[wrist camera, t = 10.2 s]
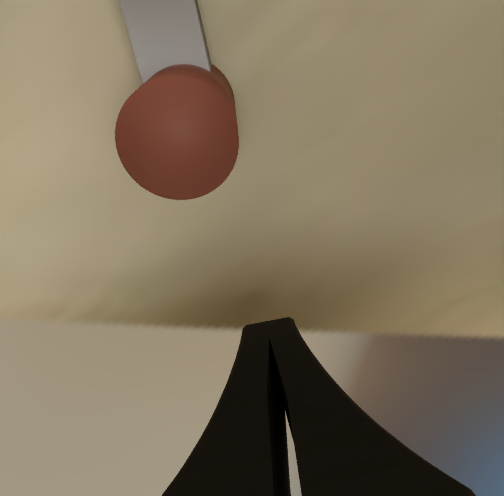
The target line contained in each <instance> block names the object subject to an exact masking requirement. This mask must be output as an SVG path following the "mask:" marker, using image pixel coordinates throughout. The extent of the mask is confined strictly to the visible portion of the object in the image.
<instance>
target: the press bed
mask: <svg viewBox="0 0 504 496" xmlns="http://www.w3.org/2000/svg"><path fill="white" fill-rule="evenodd" d="M119 4H120V7H121V10H122V14H123V17H124V21H125V24H126V27H127V31H128V34H129V37H130V41H131V44H132V48H133V51H134V54H135V58H136V61H137V65H138V68H139V71H140V75H141V78H142V82H143V85H142V86H141V87H139V88H138V89H137V90H136V91H135V92H134V93H133V94H132V95H131V96H130V97H129V98H128V99H127V100H126V102H125V103H124V105H123V107H122V108H121V111H120V113H119V115H118V119H117V122H116V129H115V141H116V148H117V151H118V155H119V157H120V160H121V162H122V164H123V166H124V168H125V169H126V171H127V172H128V173H129V175H130V176H131V177H132V178H133V179H134V180H135V181H136V182H137V183H138V184H139V185H140V186H142V187H143V188H145V189H146V190H148V191H149V192H151V193H153V194H155V195H158V196H161V197H164V198H168V199H176V200H187V199H194V198H197V197H201V196H203V195H206V194H208V193H210V192H211V191H213V190H214V189H216V188H217V187H218V186H220V185H221V184H222V183H223V182H224V181H225V179H226V178H227V177H228V176H229V174H230V172H231V171H232V169H233V167H234V164H235V162H236V159H237V155H238V148H239V137H238V128H237V119H236V109H235V101H234V95H233V91H232V88H231V86H230V84H229V82H228V80H227V79H226V77H225V76H224V74H223V73H222V72H221V71H220V70H219V69H217V68H216V67H215V66H214V65H212V64H211V61H210V57H209V52H208V48H207V43H206V39H205V34H204V29H203V25H202V20H201V16H200V11H199V7H198V2H197V0H119Z"/></svg>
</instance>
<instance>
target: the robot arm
mask: <svg viewBox="0 0 504 496" xmlns="http://www.w3.org/2000/svg"><path fill="white" fill-rule="evenodd" d="M285 412H286V415H287V419H288V423H289V426H290V430H291V434H292V438H293V441H294V446H295V452H296V459H297V465H298V472H299V479H300V486H301V493H302V496H476V495H475V494H474V493H473V492H472V490H470V489H469V488H468V487H466V486H464V485H463V484H461V483H460V482H458V481H456V480H455V479H453V478H452V477H450V476H448V475H447V474H445V473H444V472H442V471H441V470H439V469H438V468H436V467H435V466H433V465H431V464H430V463H429V462H427V461H426V460H424V459H423V458H422V457H420V456H419V455H417V454H416V453H414V452H413V451H412V450H410V449H409V448H408V447H406V446H405V445H404V444H403V443H401V442H400V441H399V440H397V439H396V438H395V437H394V436H392V435H391V434H390V433H389V432H387V431H386V430H385V429H384V428H382V427H381V426H380V425H379V424H377V423H376V422H375V421H374V420H373V419H372V418H371V417H370V416H368V415H367V414H366V413H365V412H364V411H363V410H362V409H361V408H360V407H359V406H358V405H357V404H356V403H355V402H354V401H353V400H352V399H351V398H350V397H349V396H348V395H347V394H346V393H345V392H344V391H343V390H342V389H341V388H340V387H339V385H338V384H336V382H335V381H334V380H333V379H332V377H331V376H330V375H329V374H328V373H327V371H326V370H325V369H324V368H323V366H322V365H321V364H320V363H319V361H318V360H317V359H316V357H315V356H314V355H313V353H312V352H311V350H310V349H309V347H308V346H307V344H306V343H305V341H304V340H303V338H302V337H301V335H300V333H299V331H298V329H297V327H296V325H295V323H294V320H293V319H291V318H290V317H287V318H282V319H276V320H271V321H266V322H261V323H255V324H250V325H246V326H245V327H244V328H243V330H242V336H241V341H240V345H239V349H238V352H237V356H236V359H235V362H234V365H233V367H232V370H231V373H230V376H229V379H228V381H227V384H226V386H225V389H224V391H223V393H222V395H221V398H220V400H219V402H218V405H217V407H216V409H215V411H214V413H213V415H212V417H211V419H210V421H209V423H208V425H207V427H206V429H205V430H204V432H203V434H202V436H201V438H200V439H199V441H198V443H197V444H196V446H195V448H194V449H193V451H192V453H191V454H190V456H189V458H188V459H187V461H186V462H185V464H184V465H183V467H182V468H181V470H180V471H179V473H178V474H177V476H176V477H175V478H174V480H173V481H172V482H171V484H170V485H169V486H168V488H167V489H166V490H165V492H164V493H163V494H162V496H291V493H290V481H289V480H290V479H289V465H288V449H287V433H286V418H285Z"/></svg>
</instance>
